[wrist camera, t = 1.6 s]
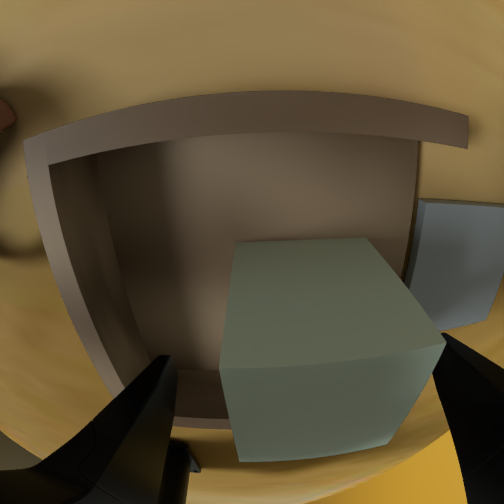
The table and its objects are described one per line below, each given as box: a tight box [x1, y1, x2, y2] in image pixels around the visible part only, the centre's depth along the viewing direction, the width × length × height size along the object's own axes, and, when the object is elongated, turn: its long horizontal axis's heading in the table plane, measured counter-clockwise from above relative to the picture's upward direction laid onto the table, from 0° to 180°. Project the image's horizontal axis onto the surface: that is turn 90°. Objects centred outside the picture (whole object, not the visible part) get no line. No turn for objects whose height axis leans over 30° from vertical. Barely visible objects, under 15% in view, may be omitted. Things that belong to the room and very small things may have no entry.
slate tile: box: [404, 199, 504, 331], centre depth 11 cm, size 7×7×1 cm
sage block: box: [219, 238, 447, 462], centre depth 9 cm, size 5×5×6 cm
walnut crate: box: [23, 91, 468, 429], centre depth 10 cm, size 13×13×3 cm
